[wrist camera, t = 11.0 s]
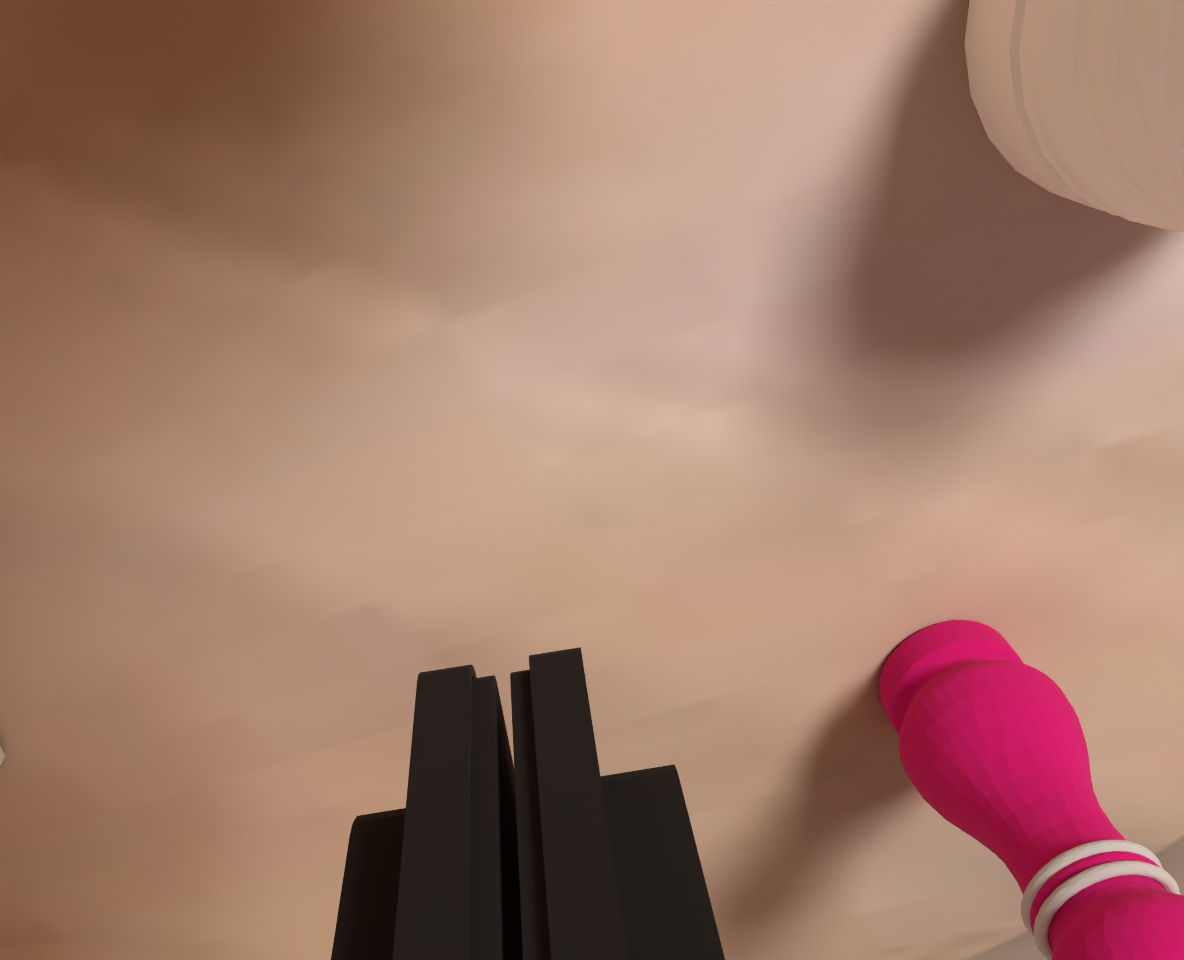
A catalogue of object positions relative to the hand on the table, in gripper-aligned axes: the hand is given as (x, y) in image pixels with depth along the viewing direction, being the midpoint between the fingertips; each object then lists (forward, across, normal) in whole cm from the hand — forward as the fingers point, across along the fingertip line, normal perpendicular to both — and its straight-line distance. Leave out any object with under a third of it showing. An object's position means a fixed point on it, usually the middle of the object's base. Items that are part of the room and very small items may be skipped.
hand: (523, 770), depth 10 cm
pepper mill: (+27, -17, +23) cm, 40 cm away
